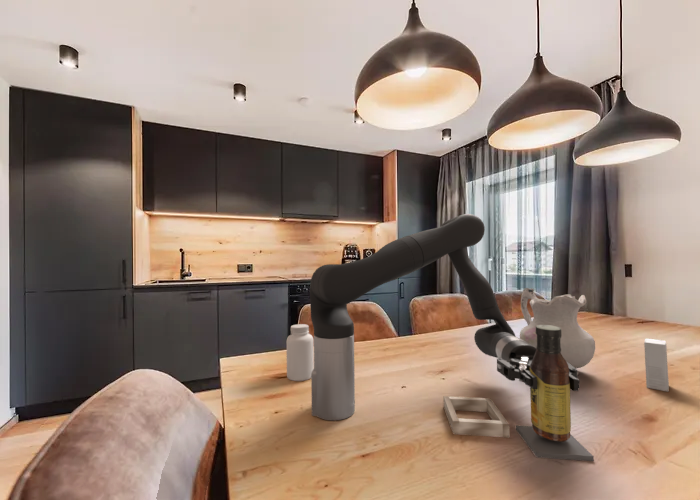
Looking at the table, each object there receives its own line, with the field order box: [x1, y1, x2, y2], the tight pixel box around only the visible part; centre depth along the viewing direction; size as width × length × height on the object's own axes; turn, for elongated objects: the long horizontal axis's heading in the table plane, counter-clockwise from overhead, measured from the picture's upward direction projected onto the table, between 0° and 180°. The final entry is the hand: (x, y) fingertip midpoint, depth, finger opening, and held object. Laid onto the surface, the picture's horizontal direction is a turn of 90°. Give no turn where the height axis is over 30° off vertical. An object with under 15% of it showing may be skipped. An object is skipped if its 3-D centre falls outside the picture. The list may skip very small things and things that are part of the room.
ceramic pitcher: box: [519, 287, 596, 376], centre depth 97 cm, size 22×20×25 cm
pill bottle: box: [286, 323, 314, 382], centre depth 93 cm, size 8×8×15 cm
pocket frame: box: [442, 395, 510, 439], centre depth 66 cm, size 10×11×2 cm
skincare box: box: [643, 338, 670, 393], centre depth 83 cm, size 6×4×12 cm
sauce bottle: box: [529, 325, 572, 442], centre depth 58 cm, size 7×6×20 cm
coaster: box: [515, 424, 595, 462], centre depth 57 cm, size 9×9×1 cm
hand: (555, 384), depth 56 cm, fingers closed on sauce bottle, 6 cm apart
